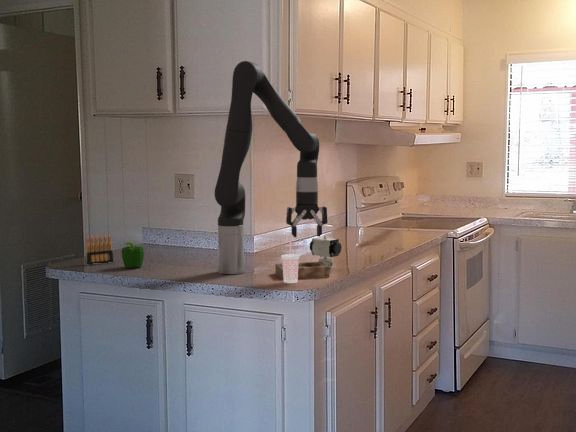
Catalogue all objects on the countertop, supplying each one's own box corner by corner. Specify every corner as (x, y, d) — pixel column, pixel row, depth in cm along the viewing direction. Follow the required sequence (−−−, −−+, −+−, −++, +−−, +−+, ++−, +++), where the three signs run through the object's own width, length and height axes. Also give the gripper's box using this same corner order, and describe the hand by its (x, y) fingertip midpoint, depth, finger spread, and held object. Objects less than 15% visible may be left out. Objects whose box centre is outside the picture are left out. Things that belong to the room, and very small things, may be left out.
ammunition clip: (87, 265, 272) (85, 235, 270) (85, 265, 273) (84, 234, 272) (113, 262, 278) (112, 232, 277) (111, 262, 279) (110, 232, 278)
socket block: (281, 279, 240) (281, 269, 240) (275, 273, 251) (275, 263, 251) (329, 276, 244) (329, 266, 243) (321, 271, 254) (321, 261, 254)
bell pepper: (142, 265, 272) (141, 239, 271) (146, 268, 264) (145, 242, 263) (120, 266, 269) (119, 240, 268) (123, 270, 261) (122, 243, 260)
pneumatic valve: (316, 265, 267) (316, 234, 266) (341, 268, 260) (341, 236, 259) (307, 267, 263) (307, 235, 262) (333, 270, 256) (333, 238, 254)
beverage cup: (281, 283, 232) (281, 241, 231) (281, 280, 238) (281, 239, 237) (299, 283, 232) (299, 241, 231) (299, 280, 238) (299, 239, 237)
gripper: (289, 191, 238) (289, 238, 239) (329, 190, 241) (329, 237, 242) (284, 189, 245) (284, 235, 246) (323, 189, 248) (323, 234, 250)
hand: (306, 236), depth 244 cm, fingers open, 8 cm apart
